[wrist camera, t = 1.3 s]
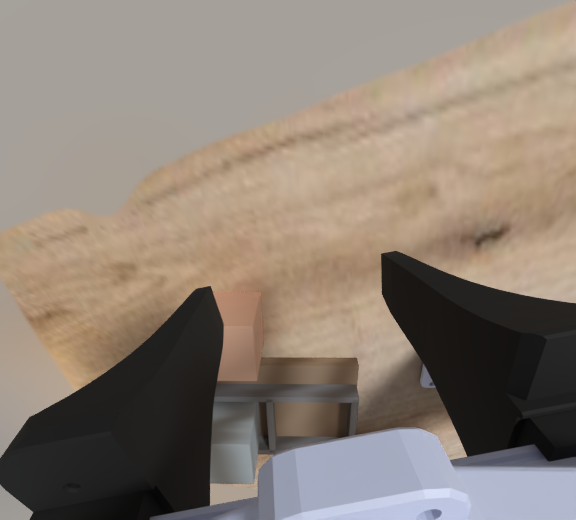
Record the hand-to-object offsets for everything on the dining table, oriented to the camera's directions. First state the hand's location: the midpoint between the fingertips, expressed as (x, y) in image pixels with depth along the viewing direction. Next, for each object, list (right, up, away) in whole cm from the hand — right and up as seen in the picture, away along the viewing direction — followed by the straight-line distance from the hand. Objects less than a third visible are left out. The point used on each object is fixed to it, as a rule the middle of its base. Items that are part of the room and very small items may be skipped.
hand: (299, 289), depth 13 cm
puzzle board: (-2, -13, +18) cm, 22 cm away
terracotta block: (-5, -4, +14) cm, 15 cm away
